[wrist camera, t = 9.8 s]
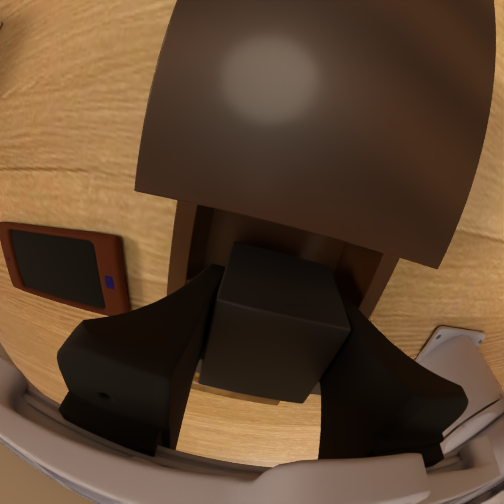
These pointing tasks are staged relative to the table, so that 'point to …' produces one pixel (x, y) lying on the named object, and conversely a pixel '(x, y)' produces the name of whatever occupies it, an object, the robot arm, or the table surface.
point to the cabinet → (325, 115)
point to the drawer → (275, 239)
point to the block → (273, 325)
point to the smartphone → (66, 266)
